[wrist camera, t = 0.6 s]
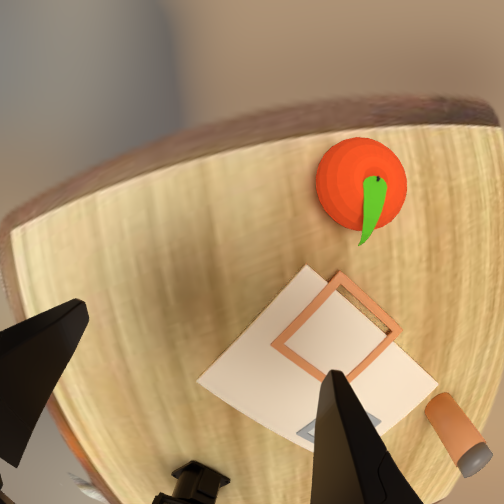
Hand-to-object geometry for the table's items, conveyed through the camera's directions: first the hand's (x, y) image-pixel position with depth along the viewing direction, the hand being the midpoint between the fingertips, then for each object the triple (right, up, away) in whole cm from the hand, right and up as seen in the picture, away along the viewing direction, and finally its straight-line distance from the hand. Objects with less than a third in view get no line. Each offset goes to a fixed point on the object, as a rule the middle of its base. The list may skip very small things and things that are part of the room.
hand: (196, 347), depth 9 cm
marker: (+25, -16, +16) cm, 34 cm away
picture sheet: (+10, -11, +17) cm, 22 cm away
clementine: (+10, +8, +14) cm, 19 cm away
